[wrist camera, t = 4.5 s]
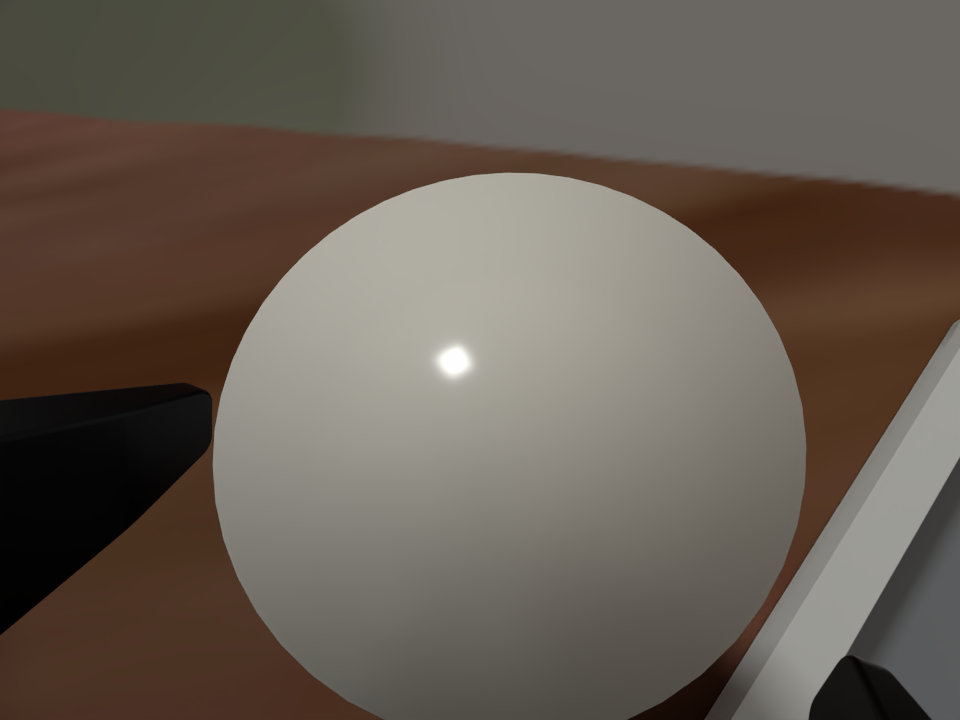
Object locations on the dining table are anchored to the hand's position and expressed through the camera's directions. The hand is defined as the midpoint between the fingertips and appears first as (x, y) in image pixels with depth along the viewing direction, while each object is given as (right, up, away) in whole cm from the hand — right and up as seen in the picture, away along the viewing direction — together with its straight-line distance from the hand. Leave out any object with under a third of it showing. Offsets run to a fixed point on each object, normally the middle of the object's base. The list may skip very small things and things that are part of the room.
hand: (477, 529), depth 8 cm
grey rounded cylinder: (+1, -3, +8) cm, 9 cm away
